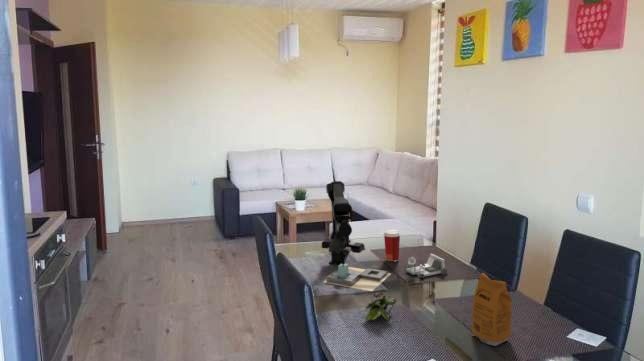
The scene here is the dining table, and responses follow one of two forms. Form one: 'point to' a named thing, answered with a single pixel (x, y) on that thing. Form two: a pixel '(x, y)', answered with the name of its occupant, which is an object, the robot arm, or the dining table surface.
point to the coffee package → (491, 310)
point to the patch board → (362, 281)
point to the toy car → (427, 267)
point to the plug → (343, 270)
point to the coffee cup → (392, 244)
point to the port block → (348, 280)
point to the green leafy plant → (379, 306)
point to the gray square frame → (367, 275)
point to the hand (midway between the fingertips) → (343, 264)
